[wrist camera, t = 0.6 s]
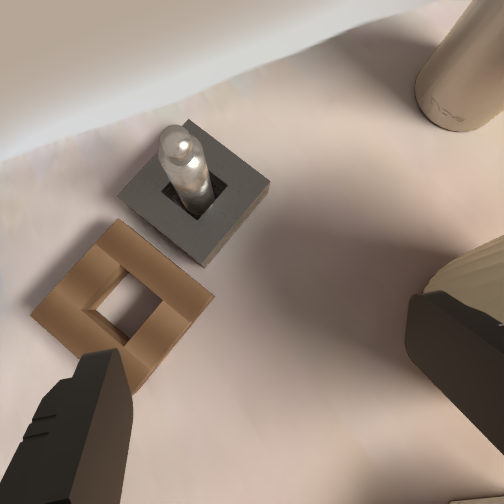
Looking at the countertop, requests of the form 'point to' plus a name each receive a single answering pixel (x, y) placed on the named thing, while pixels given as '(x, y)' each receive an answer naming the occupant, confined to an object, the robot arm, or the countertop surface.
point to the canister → (475, 279)
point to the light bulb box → (481, 501)
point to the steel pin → (186, 168)
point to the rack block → (101, 285)
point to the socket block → (216, 216)
